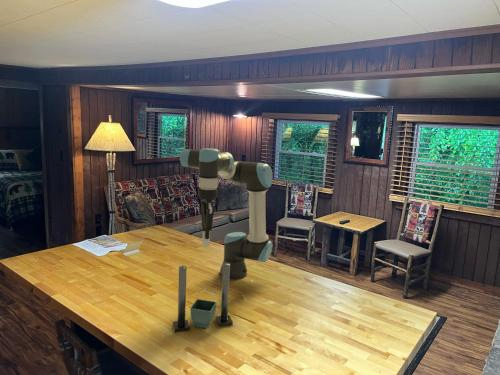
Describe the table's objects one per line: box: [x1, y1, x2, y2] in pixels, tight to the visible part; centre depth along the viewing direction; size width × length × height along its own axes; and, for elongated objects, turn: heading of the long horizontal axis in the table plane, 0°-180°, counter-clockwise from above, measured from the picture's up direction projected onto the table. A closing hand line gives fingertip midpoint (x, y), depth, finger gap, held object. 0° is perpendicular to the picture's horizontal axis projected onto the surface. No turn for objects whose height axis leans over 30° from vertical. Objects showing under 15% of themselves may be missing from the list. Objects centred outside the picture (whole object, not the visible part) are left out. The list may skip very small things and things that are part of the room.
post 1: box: [172, 265, 191, 333], centre depth 156 cm, size 6×6×26 cm
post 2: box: [214, 262, 234, 328], centre depth 162 cm, size 6×6×26 cm
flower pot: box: [189, 298, 217, 329], centre depth 160 cm, size 9×9×9 cm
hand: (206, 245), depth 156 cm, fingers closed
